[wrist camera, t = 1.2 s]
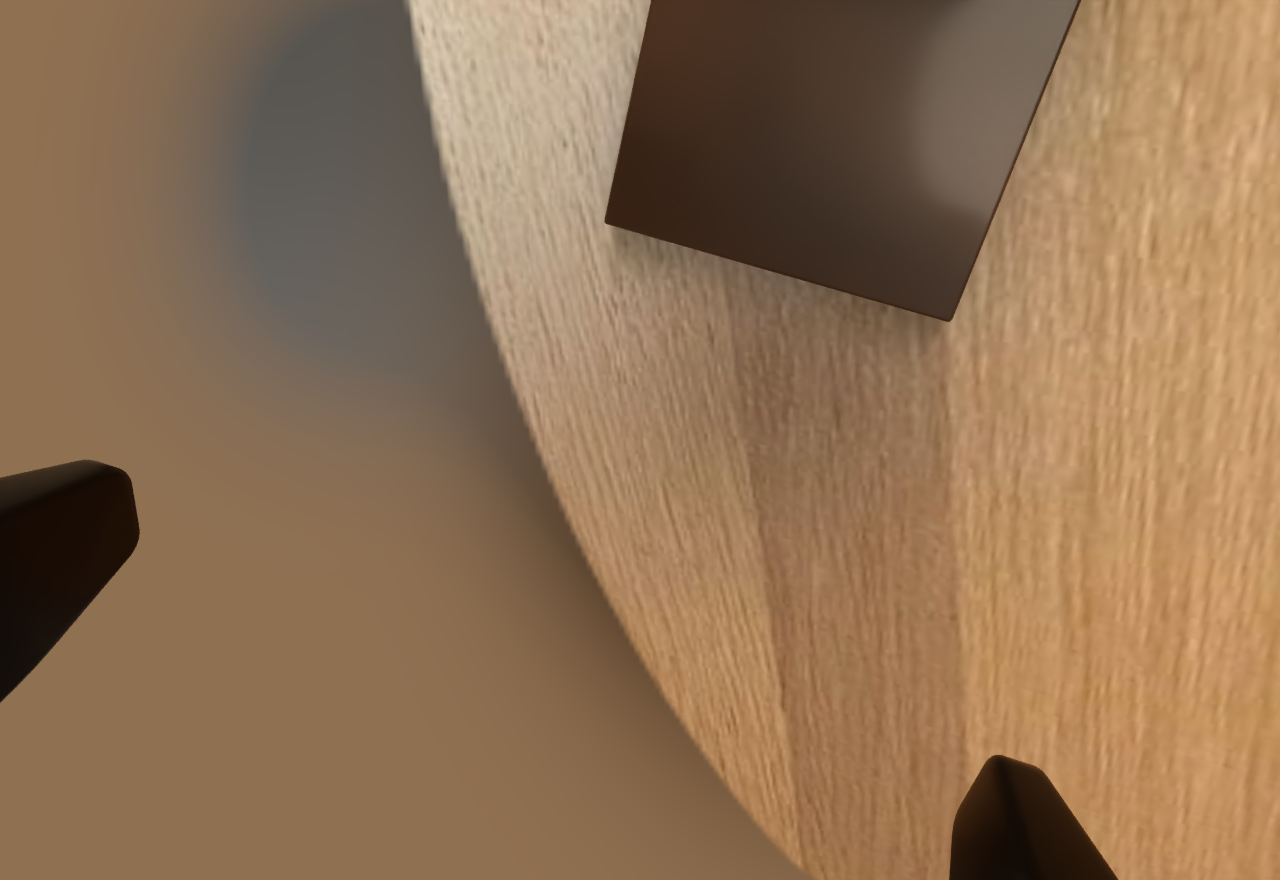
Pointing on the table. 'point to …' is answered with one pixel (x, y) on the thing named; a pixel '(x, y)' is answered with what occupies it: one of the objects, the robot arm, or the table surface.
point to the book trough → (835, 135)
